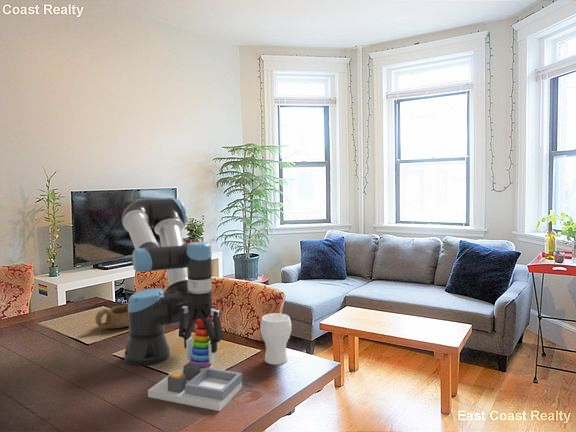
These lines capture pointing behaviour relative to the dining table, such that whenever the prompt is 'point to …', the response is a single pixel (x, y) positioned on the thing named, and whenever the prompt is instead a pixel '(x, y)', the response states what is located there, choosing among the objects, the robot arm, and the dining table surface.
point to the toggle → (191, 370)
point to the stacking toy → (201, 346)
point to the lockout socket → (213, 393)
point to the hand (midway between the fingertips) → (200, 359)
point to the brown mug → (114, 317)
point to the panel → (214, 404)
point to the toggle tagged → (176, 382)
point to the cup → (275, 336)
